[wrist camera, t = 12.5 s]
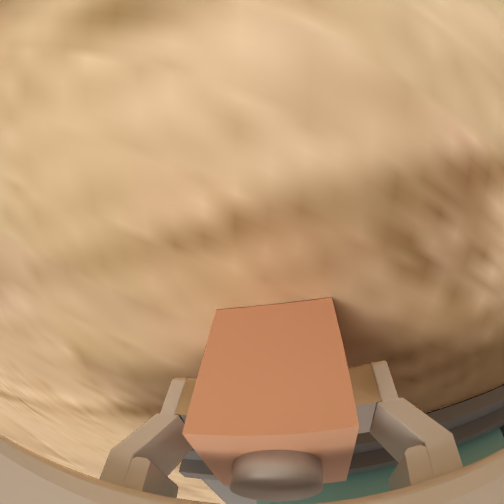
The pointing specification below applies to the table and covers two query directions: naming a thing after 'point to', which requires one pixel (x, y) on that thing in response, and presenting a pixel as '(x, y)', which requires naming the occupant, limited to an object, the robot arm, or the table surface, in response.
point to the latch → (379, 478)
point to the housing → (372, 452)
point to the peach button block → (274, 401)
